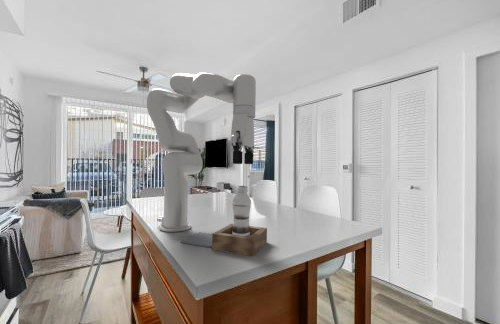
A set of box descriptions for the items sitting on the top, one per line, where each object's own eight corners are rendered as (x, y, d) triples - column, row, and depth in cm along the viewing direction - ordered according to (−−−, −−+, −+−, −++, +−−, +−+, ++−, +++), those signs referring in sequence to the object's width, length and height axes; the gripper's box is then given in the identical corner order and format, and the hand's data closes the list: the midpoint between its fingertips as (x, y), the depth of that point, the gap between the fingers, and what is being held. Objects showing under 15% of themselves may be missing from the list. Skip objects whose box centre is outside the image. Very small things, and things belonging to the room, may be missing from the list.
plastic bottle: (235, 250, 77) (236, 187, 77) (228, 243, 83) (229, 185, 83) (253, 247, 79) (255, 187, 79) (245, 241, 86) (247, 185, 86)
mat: (180, 242, 83) (180, 241, 83) (199, 233, 94) (199, 232, 94) (210, 247, 78) (210, 246, 78) (227, 237, 90) (227, 236, 90)
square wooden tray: (212, 249, 77) (212, 233, 77) (230, 237, 90) (231, 223, 90) (253, 256, 72) (253, 239, 72) (266, 242, 85) (267, 228, 85)
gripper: (243, 118, 91) (243, 164, 90) (222, 108, 74) (221, 163, 74) (262, 117, 88) (262, 164, 88) (244, 106, 72) (243, 164, 72)
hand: (243, 164), depth 81 cm, fingers open, 9 cm apart
